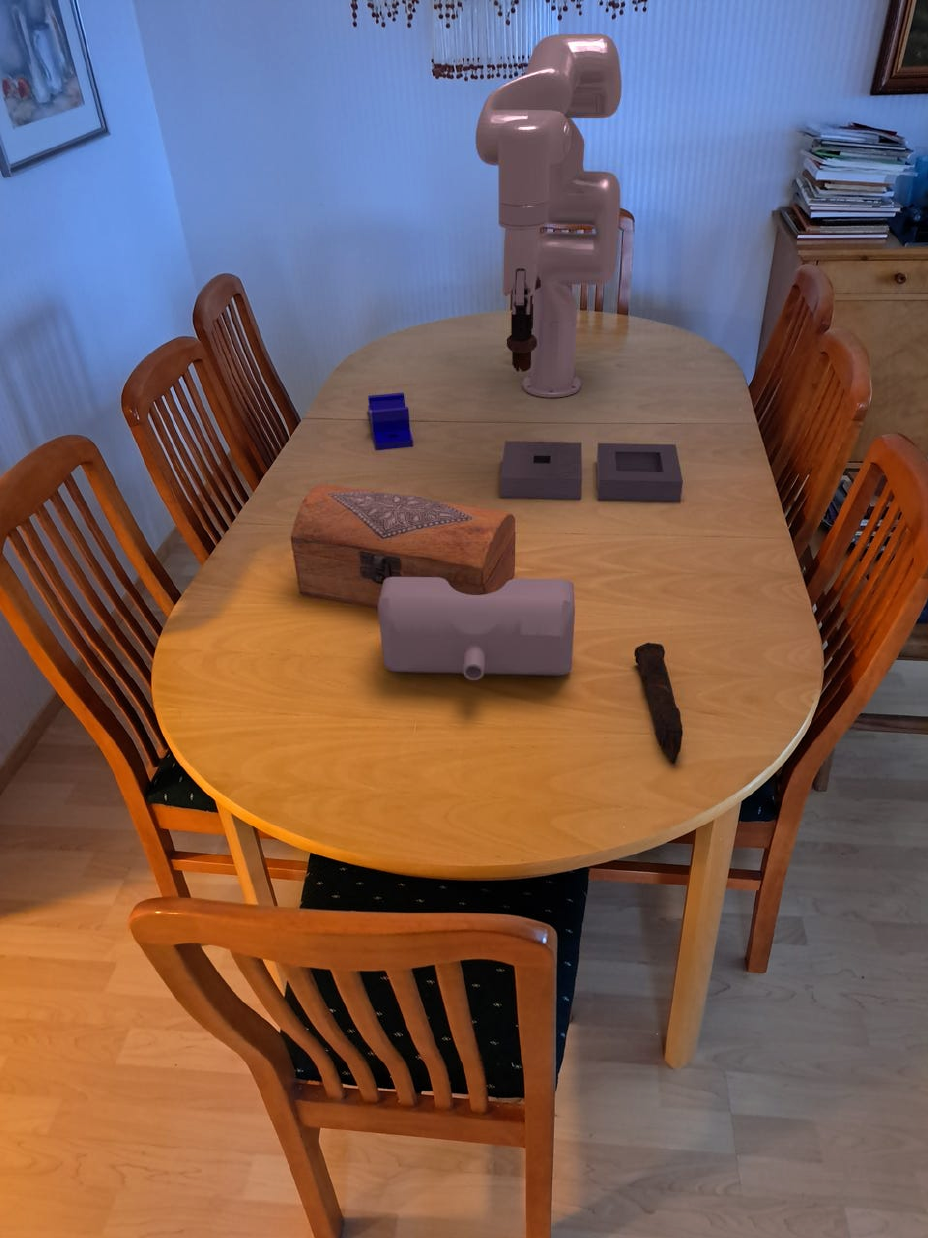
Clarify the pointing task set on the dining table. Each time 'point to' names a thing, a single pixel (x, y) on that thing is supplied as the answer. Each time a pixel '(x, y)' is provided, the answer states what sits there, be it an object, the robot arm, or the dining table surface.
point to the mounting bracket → (390, 421)
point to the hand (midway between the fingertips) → (522, 332)
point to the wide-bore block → (638, 472)
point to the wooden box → (396, 544)
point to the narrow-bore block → (541, 470)
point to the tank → (477, 627)
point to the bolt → (523, 342)
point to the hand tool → (660, 698)
